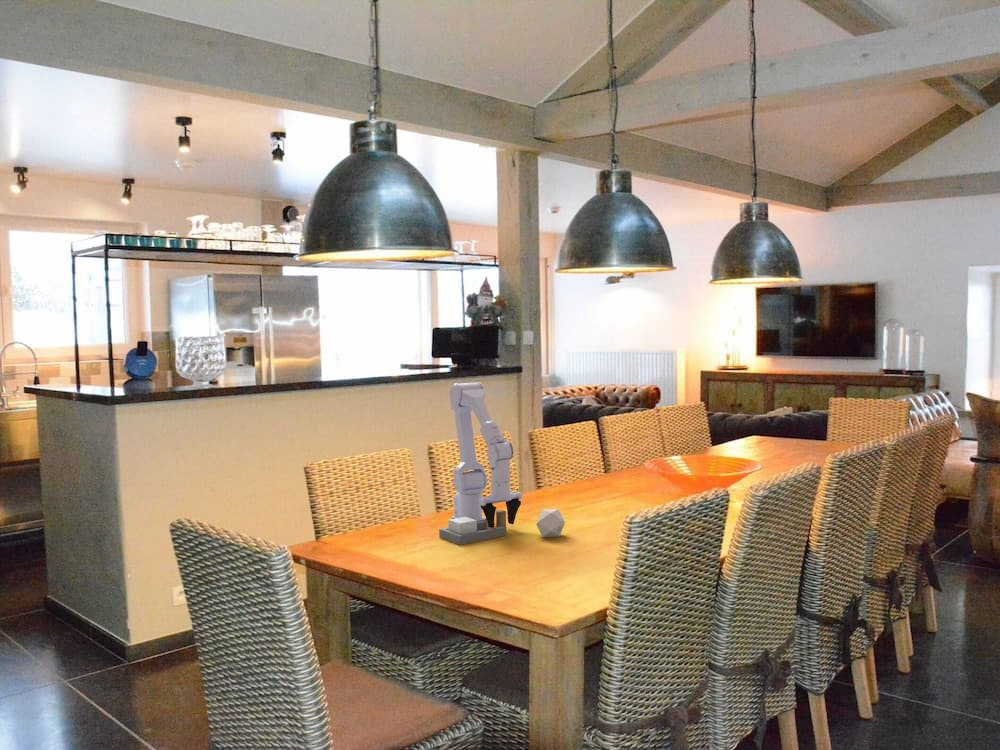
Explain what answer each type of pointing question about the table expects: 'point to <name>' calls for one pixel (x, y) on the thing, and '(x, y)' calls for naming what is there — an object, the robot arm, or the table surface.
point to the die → (550, 523)
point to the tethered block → (474, 523)
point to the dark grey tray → (472, 534)
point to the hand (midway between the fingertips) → (501, 525)
